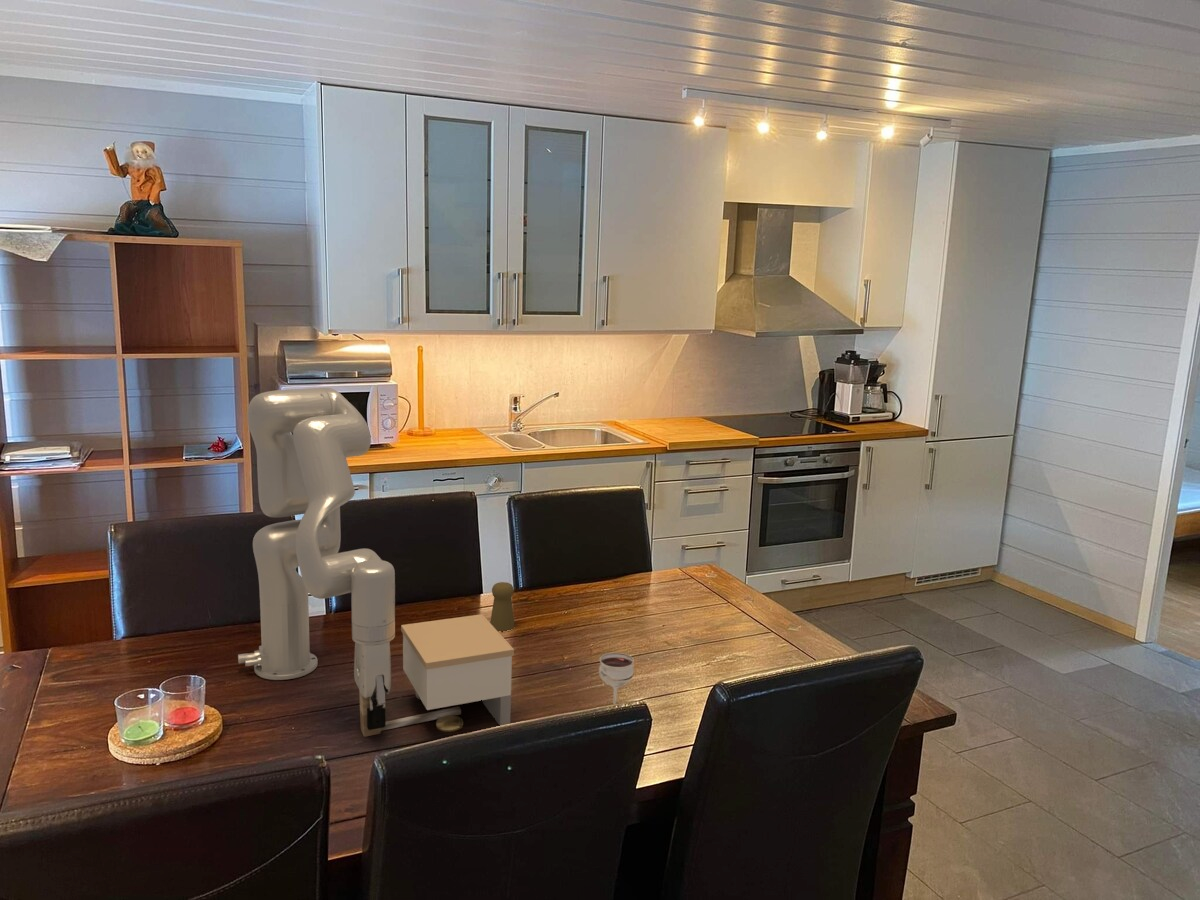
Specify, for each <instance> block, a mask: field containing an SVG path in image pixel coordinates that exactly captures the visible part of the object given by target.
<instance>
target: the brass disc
mask: <svg viewBox="0 0 1200 900" xmlns="http://www.w3.org/2000/svg"><path fill="white" fill-rule="evenodd" d="M435 727H436V730H439V731H440V732H444V733H454V732H457V731H459V730H461V729H462V728H463V727H464V720H463V718H462V717H460V716H458V715H454V716H453V715H448V716H443V717H440V718H439V719H436V721H435Z"/></svg>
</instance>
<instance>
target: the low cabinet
mask: <svg viewBox="0 0 1200 900" xmlns="http://www.w3.org/2000/svg"><path fill="white" fill-rule="evenodd" d="M400 625H401V626H400V631H401V633H402V670H403V672H404V674H405V676H407V679H408V680H409V682H410V683H411V685H412V687H413V689H414V691H415V696H416V698H418V699H419V700H421V702H422V704H423V706H424V708H425V710H427V711H430V710H431V711H432V710H435V709H440V708H447V707H451V706H452V707H453V706H458V705H463V704H469V703H474V702H479V701H481V700H482V701H481V702H482V703H483V706H485V707H486V709H487V710H488V711H489V714H491V716H492V717H493V719H494V718H495V719H494V721H496V723H497V724H498V725H499V726H500V725H502V724H506V723H510V724H511V711H512V710H511V708H512V707H511V706H512V672H513V671H512V667H513V666H512V665H513V664H512V663H513V661H512V660H513V659H512V657H513V656H515V648H513V647H512V646H511V644H510V643H509V642H508V641H507V640H506V639H505V638H504V637H503V635H501V632H498V631H497V630H496V629H495V628H494V627H493V626H492V625H491V623H490V621H489V620H488V619H487V618H486V617H485V616H484V614H483V613H481V614H480V613H479V614H473V615H466V616H460V617H452V618H444V619H437V620H431V621H429V620H428V621H421V622H414V623H407V624H400ZM418 699H417V700H418Z"/></svg>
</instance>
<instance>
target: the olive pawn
mask: <svg viewBox="0 0 1200 900" xmlns="http://www.w3.org/2000/svg"><path fill="white" fill-rule="evenodd" d="M514 592H515V590H514V586H513V584H511V583H510V582H507V581H505V582H504V581H499V582H497V583H495V584H493V586H492V588H491V593H492V596H493V602H492V609H491V616H490V621H489V622H490V623H491V625H492V626H493V627H494V628H495V629H496V630H497V631H507V630H511V629H513V628H514V627H516V626H515V619H514V611H513V610H514V609H513V600H512V597H513V596H514ZM514 629H515V628H514ZM514 629H513V630H514ZM511 631H512V630H511Z"/></svg>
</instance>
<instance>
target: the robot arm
mask: <svg viewBox="0 0 1200 900" xmlns="http://www.w3.org/2000/svg"><path fill="white" fill-rule="evenodd" d="M246 416H247V424H248V428H249V432H250V434H251V438H252V440H253V443H254V446H255V450H256V465H257V467H256V469H257V493H258V501H259V506H260V509H261V511H262V513H263V515H265V516H267V517H269V518H285V517H293V516H299V515H303V516H302V518H301V519H293V520H286V521H281V522H276V523H272V524H268V525H265V526H264V527H262V528H260V529H259V530H257V532H255V534H254V537H253V538H252V539H253V540H252V550H253V551H252V552H253V555H254V556H253V557H254V560H255V564H256V569H257V570H256V571H257V575H258V576H257V577H258V586H259V587H258V589H259V610H260V633H261V634H260V636H261V637H260V638H261V639H260V640H261V645H259V646H258V649H257V650H254V651H253V652H250V653H240V654H239V653H238V654H237V659H238V660H237V662H238V665H240V664H241V665H242V664H244V665H245V667H251V666H252V667H254V669H253V670H254V673H255V674H256V676H258V677H259V678H262V679H265V680H271V681H285V680H291V679H298V678H301V677H303V676H307V675H309V674H310V673H312V672H313V671H315V669H316V668H317V667H318V658H317V656H316V655H315V654H314V653H311V651H310V649H311V648H310V647H311V646H310V615H309V614H310V613H309V612H310V611H309V608H310V607H309V605H310V603H309V595H311V596H312V597H313V598H316V599H319V600H323V599H324V600H325V599H329V598H334V597H337V596H342V595H345V594H351V639H352V641H353V642H354V663H353V664H354V666H353V678H354V683H356V686H357V688H358V690H359V691H360V693H361V695H362V696H363V697H364V698H367V697H369V708H368V709H367V728H368V730H372V729H378V728H383V727H385V725H386V721H387V720H386V718H387V717H386V695H389V694H390V693H391V689H392V662H391V659H392V658H391V643H390V642H391V641H392V640H394V638H395V637H396V608H395V607H396V606H395V605H396V597H395V596H396V581H395V580H396V576H395V575H396V573H395V572H396V571H395V568H394V565H393V564H392V563H390V562H389V561H386V560H383V559H382V558H381V557H380V556H379V555H378V554H377V553H376V551H374V550H373V549H370V548H358V549H352V550H348V551H342V552H339V551H340V549H341V539H342V538H341V535H342V533H341V506H344V505H345V504H346V503H348V502H350V501H351V499H352V498H353V497H354V496H355V493H356V491H355V486H354V482H353V479H352V475H351V470H350V468H349V465H348V459H347V458H350V457H360V456H363V455H365V454H367V452H368V451H369V449H370V447H371V442H372V435H371V432H370V431H371V430H370V427H369V426H368V423H367V421H366V419H365V418H364V417H363V415H362V414H361V413H360V412H359V411H358V409H357V408H356V407H355V406H354V405H353V404H352V403H351V402H349V401H348V399H347V398H345V397H344V395H343V394H341V392H339V391H338V390H337V389H336V390H335V389H334V388H329V387H311V388H289V389H278V390H277V389H276V390H270V391H264V392H261V393H258V394H256V395H255V396H253V397H252V399H251V400H250V401H249V405H248V407H247V415H246ZM297 568H299V572H300V573H298V572H297ZM375 690H376V691H375ZM359 691H358V692H359ZM373 691H375V692H373ZM373 697H376V699H374V700H373Z"/></svg>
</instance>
